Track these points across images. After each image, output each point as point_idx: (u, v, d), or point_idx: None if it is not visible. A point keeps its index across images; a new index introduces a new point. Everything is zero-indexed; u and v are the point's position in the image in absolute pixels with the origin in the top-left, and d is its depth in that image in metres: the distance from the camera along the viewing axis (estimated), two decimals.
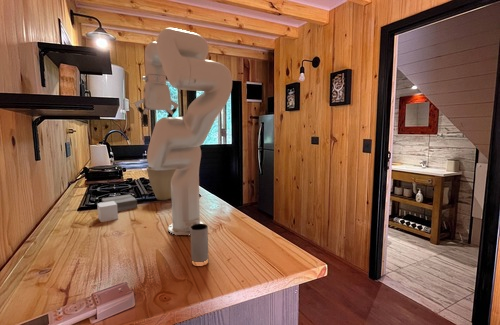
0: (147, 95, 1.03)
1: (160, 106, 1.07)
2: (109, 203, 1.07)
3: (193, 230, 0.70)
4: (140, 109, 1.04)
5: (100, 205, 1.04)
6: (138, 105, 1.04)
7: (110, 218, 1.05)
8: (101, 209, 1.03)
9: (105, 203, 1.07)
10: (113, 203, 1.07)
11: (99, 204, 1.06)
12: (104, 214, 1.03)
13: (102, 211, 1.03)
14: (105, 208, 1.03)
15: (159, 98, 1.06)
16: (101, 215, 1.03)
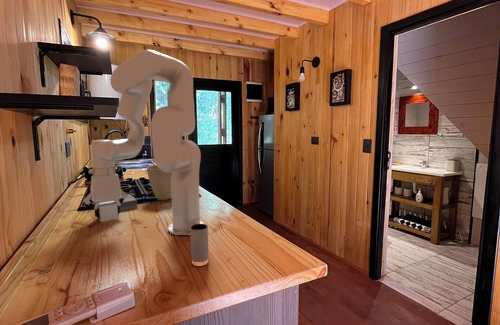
0: (93, 190, 1.01)
1: (108, 198, 1.04)
2: (109, 203, 1.07)
3: (193, 230, 0.70)
4: (91, 205, 1.02)
5: (100, 205, 1.04)
6: (88, 202, 1.02)
7: (110, 218, 1.05)
8: (101, 209, 1.03)
9: (105, 203, 1.07)
10: (113, 203, 1.07)
11: (99, 204, 1.06)
12: (104, 214, 1.03)
13: (102, 211, 1.03)
14: (105, 208, 1.03)
15: (107, 190, 1.03)
16: (101, 215, 1.03)
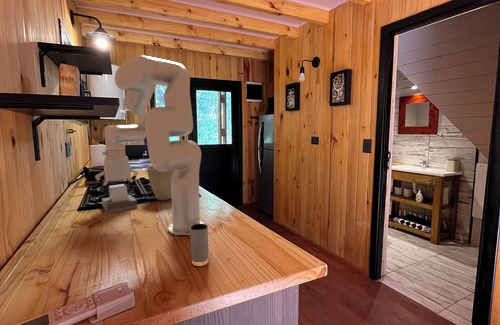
0: (106, 169, 1.14)
1: (119, 177, 1.17)
2: (119, 185, 1.21)
3: (193, 230, 0.70)
4: (100, 181, 1.15)
5: (112, 187, 1.18)
6: (98, 178, 1.14)
7: (121, 198, 1.19)
8: (113, 190, 1.16)
9: (116, 185, 1.21)
10: (123, 185, 1.21)
11: (111, 186, 1.19)
12: (115, 195, 1.17)
13: (114, 192, 1.17)
14: (116, 189, 1.17)
15: (118, 170, 1.17)
16: (113, 196, 1.17)
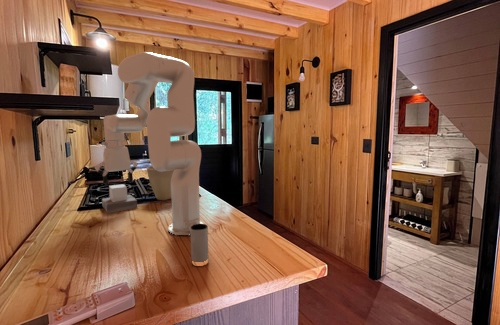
0: (106, 159, 1.14)
1: (119, 167, 1.17)
2: (119, 185, 1.21)
3: (193, 230, 0.70)
4: (100, 172, 1.14)
5: (112, 187, 1.18)
6: (97, 169, 1.14)
7: (120, 199, 1.19)
8: (113, 190, 1.16)
9: (116, 185, 1.21)
10: (123, 186, 1.21)
11: (111, 186, 1.19)
12: (115, 195, 1.17)
13: (113, 192, 1.17)
14: (116, 189, 1.17)
15: (118, 160, 1.16)
16: (113, 195, 1.17)
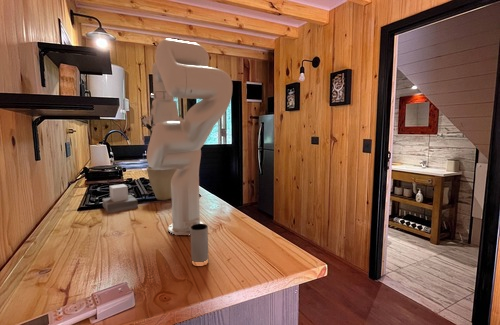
0: (155, 112, 1.04)
1: None
2: (120, 185, 1.21)
3: (193, 230, 0.70)
4: (148, 126, 1.05)
5: (113, 187, 1.19)
6: (146, 122, 1.04)
7: (121, 198, 1.19)
8: (114, 190, 1.17)
9: (116, 185, 1.21)
10: (124, 185, 1.21)
11: (111, 186, 1.20)
12: (116, 194, 1.18)
13: (115, 192, 1.17)
14: (117, 189, 1.18)
15: (167, 115, 1.07)
16: (114, 195, 1.17)
